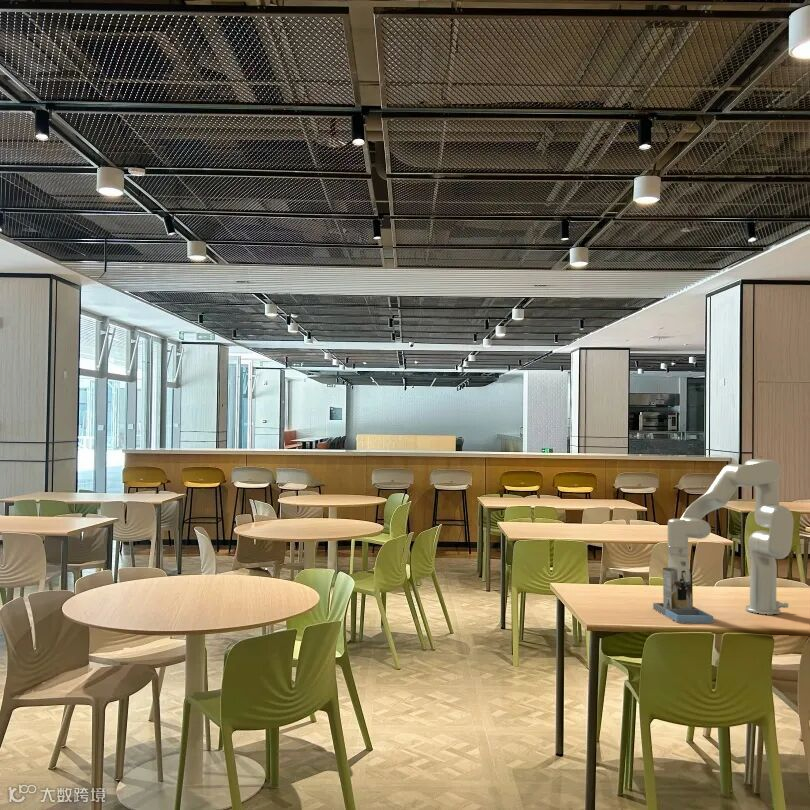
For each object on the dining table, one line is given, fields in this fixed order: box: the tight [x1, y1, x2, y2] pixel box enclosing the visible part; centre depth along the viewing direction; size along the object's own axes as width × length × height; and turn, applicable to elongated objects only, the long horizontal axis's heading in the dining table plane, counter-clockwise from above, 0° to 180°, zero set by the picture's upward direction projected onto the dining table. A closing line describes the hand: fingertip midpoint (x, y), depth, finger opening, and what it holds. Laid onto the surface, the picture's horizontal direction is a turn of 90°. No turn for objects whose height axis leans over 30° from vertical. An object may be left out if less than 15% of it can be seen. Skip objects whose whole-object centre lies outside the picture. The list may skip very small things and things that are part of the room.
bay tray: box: [652, 602, 714, 624], centre depth 300 cm, size 14×22×2 cm, turn 5°
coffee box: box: [662, 567, 694, 609], centre depth 306 cm, size 9×6×16 cm
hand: (677, 597), depth 306 cm, fingers closed on coffee box, 6 cm apart
